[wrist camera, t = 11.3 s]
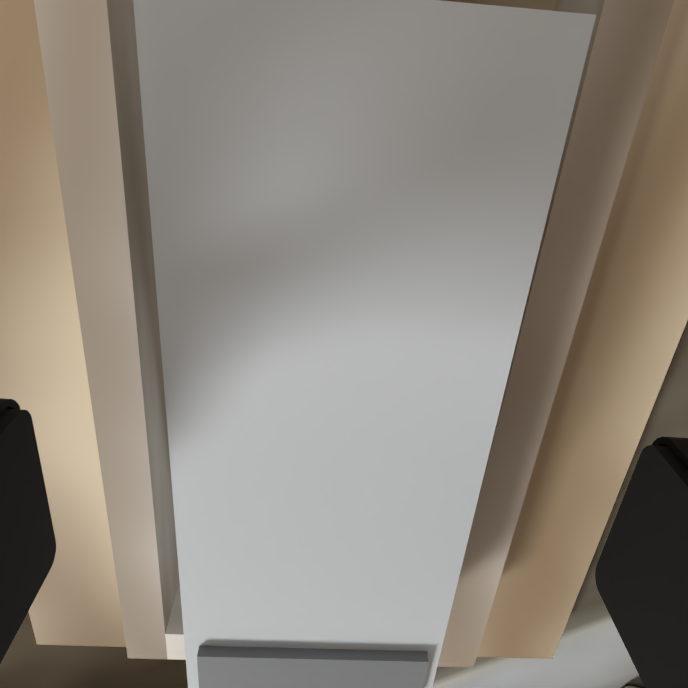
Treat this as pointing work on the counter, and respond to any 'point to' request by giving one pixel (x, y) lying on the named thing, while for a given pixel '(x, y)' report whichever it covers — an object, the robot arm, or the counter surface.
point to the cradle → (145, 348)
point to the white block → (340, 309)
